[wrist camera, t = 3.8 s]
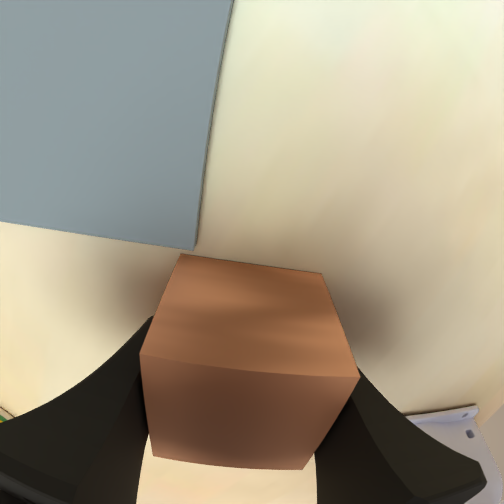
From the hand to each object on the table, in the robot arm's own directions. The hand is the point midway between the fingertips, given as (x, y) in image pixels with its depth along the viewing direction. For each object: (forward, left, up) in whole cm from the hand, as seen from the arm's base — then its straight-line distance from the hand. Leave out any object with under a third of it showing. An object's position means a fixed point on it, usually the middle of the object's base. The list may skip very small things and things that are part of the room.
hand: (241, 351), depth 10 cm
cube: (0, 0, -2) cm, 2 cm away
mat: (+7, -8, -2) cm, 11 cm away
